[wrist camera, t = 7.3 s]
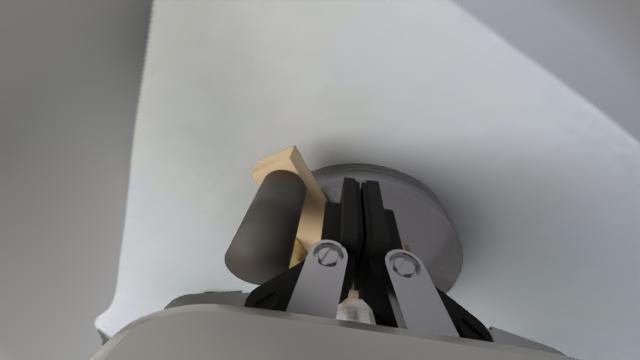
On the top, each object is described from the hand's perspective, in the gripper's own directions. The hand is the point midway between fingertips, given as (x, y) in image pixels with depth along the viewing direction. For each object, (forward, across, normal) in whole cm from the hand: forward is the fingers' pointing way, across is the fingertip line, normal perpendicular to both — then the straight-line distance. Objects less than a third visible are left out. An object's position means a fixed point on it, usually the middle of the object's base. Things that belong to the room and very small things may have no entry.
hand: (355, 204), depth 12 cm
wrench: (+3, 0, +6) cm, 7 cm away
